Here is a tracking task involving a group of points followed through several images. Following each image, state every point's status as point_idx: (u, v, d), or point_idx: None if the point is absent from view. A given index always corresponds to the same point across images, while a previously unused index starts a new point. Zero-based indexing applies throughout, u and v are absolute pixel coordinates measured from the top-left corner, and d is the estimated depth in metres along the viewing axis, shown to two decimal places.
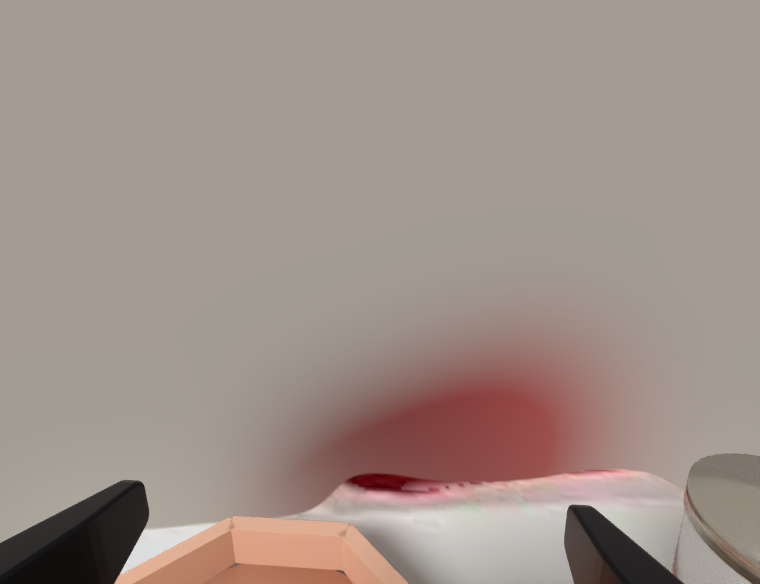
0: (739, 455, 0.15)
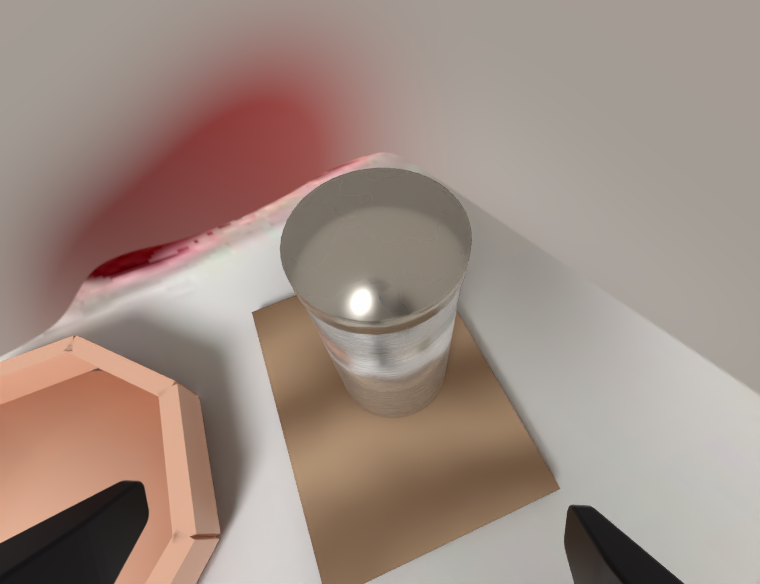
0: (345, 175, 0.14)
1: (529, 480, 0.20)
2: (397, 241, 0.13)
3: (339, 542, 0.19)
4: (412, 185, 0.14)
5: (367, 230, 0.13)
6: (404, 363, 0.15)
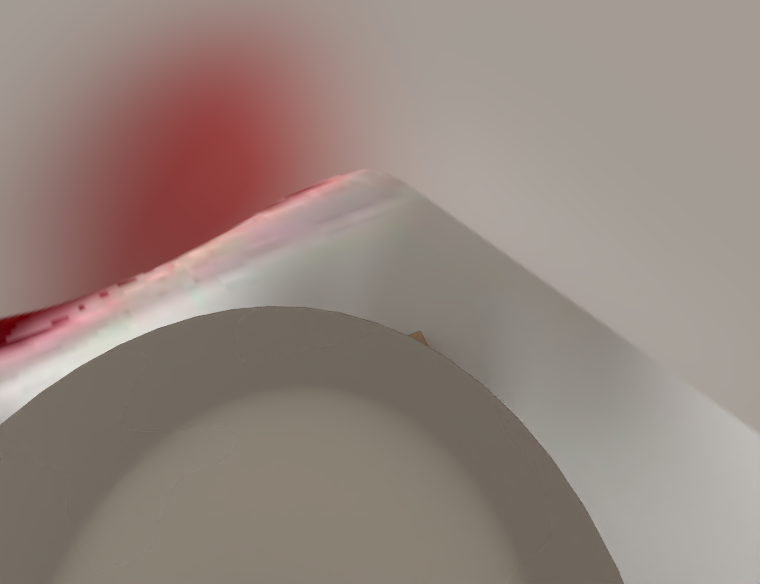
0: (161, 335, 0.04)
1: None
2: None
3: None
4: (387, 393, 0.04)
5: None
6: None
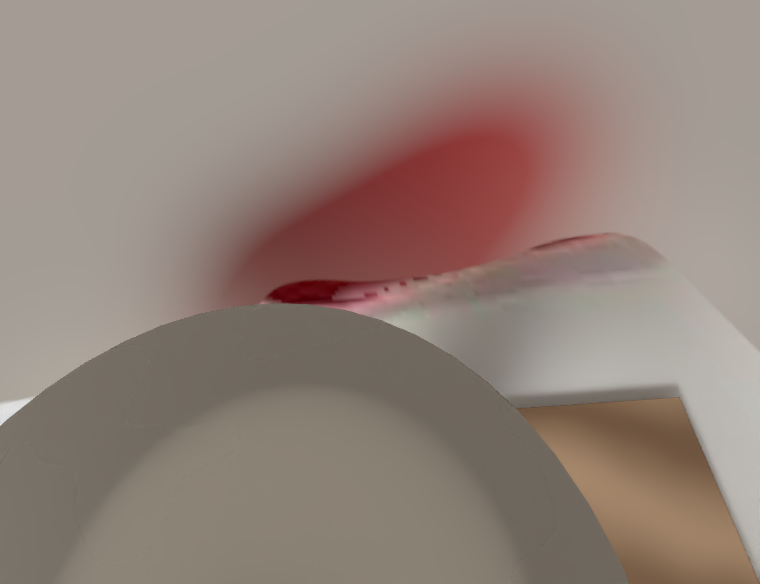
0: (165, 332, 0.04)
1: None
2: None
3: None
4: (391, 390, 0.04)
5: None
6: None
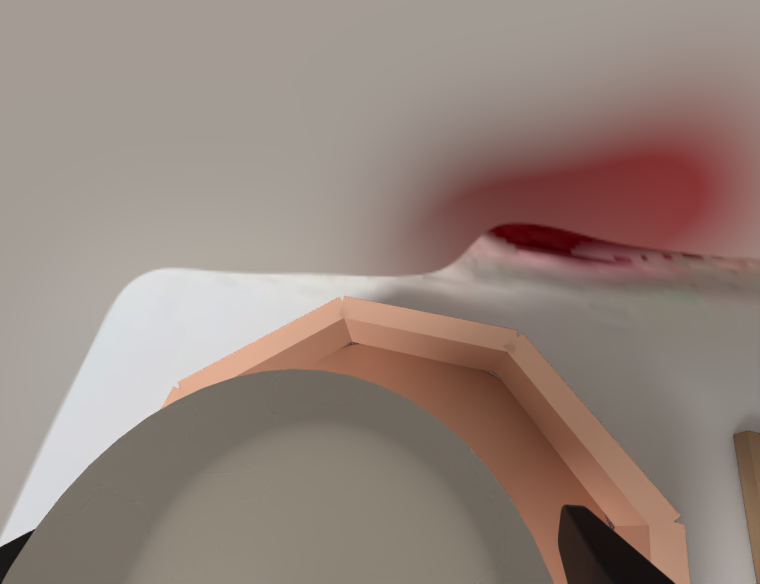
0: (208, 393, 0.05)
1: None
2: None
3: None
4: (386, 443, 0.05)
5: None
6: None
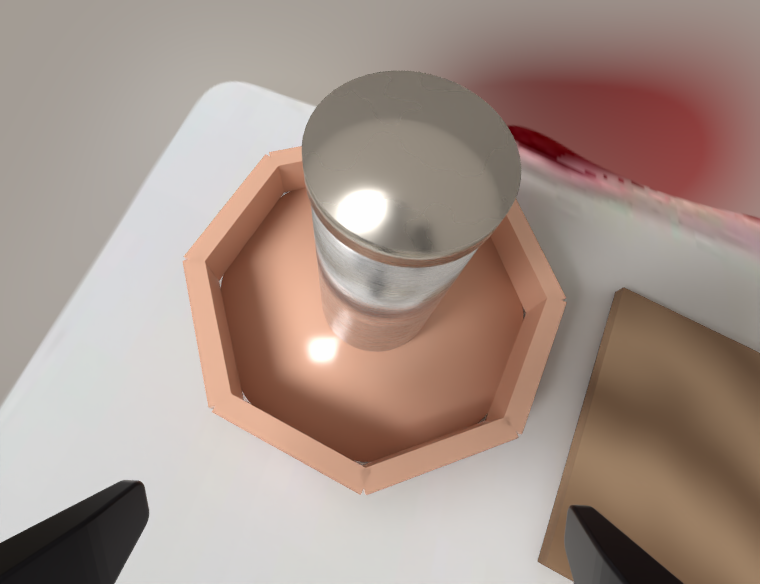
0: (395, 73, 0.12)
1: None
2: (437, 167, 0.11)
3: None
4: (468, 107, 0.12)
5: (407, 145, 0.11)
6: (401, 301, 0.14)
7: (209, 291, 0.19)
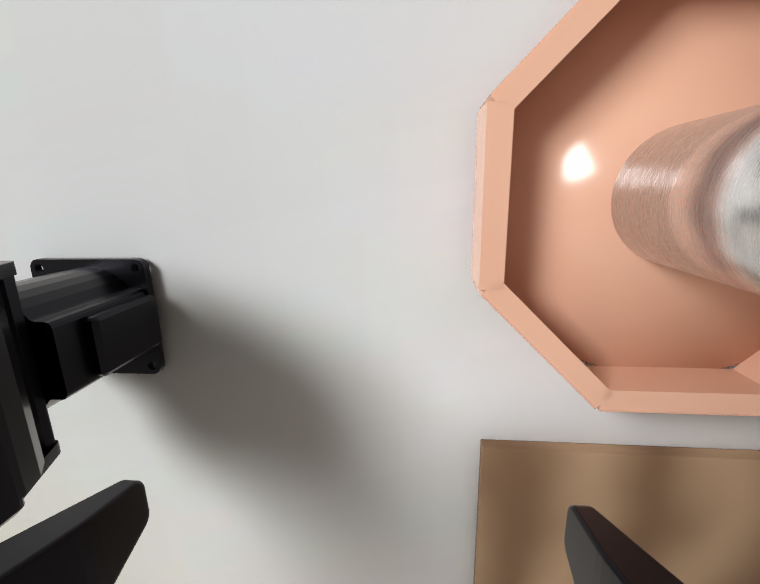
0: None
1: None
2: None
3: (518, 470, 0.21)
4: None
5: None
6: None
7: None
